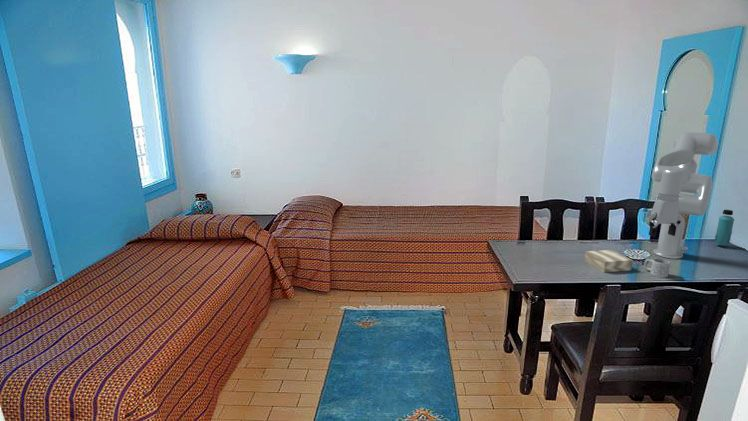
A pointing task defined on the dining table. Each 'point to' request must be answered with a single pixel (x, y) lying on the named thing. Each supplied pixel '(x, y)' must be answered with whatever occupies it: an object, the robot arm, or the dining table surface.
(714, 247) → the dining table surface
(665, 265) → the mug
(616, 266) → the base block
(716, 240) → the beverage bottle
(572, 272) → the dining table surface
